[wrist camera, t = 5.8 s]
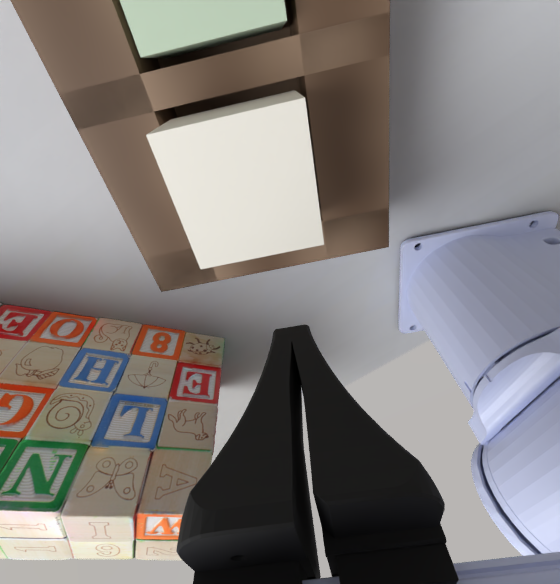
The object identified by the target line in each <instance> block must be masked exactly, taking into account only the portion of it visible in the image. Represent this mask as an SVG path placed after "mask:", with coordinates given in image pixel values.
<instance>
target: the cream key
mask: <svg viewBox="0 0 560 584" xmlns="http://www.w3.org/2000/svg"><path fill="white" fill-rule="evenodd" d="M146 136H147V139H148V141H149V144H150V146H151V149H152V151H153V154H154V156H155V159H156V161H157V164H158V166H159V168H160V171H161V173H162V176H163V178H164V181H165V183H166V186H167V188H168V191H169V193H170V196H171V198H172V200H173V203H174V205H175V208H176V210H177V213H178V215H179V218H180V220H181V223H182V225H183V228H184V230H185V232H186V235H187V237H188V240H189V242H190V245H191V247H192V250H193V252H194V255H195V257H196V260H197V262H198V264H199V267H200V269H206V268H210V267H215V266H220V265H225V264H230V263H235V262H240V261H245V260H250V259H255V258H260V257H265V256H270V255H275V254H280V253H285V252H290V251H295V250H300V249H305V248H310V247H315V246H320V245H324V240H323V232H322V224H321V217H320V209H319V201H318V193H317V186H316V178H315V170H314V163H313V155H312V147H311V139H310V132H309V124H308V116H307V108H306V101H305V97H304V96H302V95H301V94H300V93H298V92H297V91H295V90H292V91H288V92H284V93H280V94H276V95H271V96H267V97H263V98H259V99H254V100H250V101H246V102H242V103H238V104H233V105H229V106H225V107H221V108H216V109H212V110H208V111H204V112H200V113H195V114H191V115H187V116H183V117H179V118H174V119H170V120H169V121H167V122H166V123H164V124H162V125H161V126H159V127H158V128H156V129H155V130H153V131H151V132H150V133H148V134H147V135H146Z"/></svg>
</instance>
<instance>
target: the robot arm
mask: <svg viewBox="0 0 560 584" xmlns="http://www.w3.org/2000/svg"><path fill="white" fill-rule="evenodd" d="M558 219H559V215H558V214H557V213H555V212H553V211H547V212H542V213H537V214H532V215H527V216H522V217H517V218H512V219H507V220H502V221H497V222H492V223H487V224H482V225H477V226H472V227H467V228H462V229H457V230H452V231H447V232H441V233H436V234H431V235H426V236H421V237H416V238H411V239H407V240H405V241H404V242H403V243H402V244H401V248H400V283H399V318H398V328H399V330H400V332H401V333H411V332H416V331H422V330H425V332H426V334H427V335H428V337H429V339H430V340H431V342H432V343H433V345H434V347H435V348H436V350H437V351H438V353H439V355H440V356H441V358H442V359H443V361H444V362H445V364H446V366H447V368H448V369H449V371H450V372H451V374H452V376H453V377H454V379H455V380H456V382H457V384H458V385H459V387H460V388H461V390H462V392H463V393H464V395H465V396H466V398H467V400H468V401H469V403H470V405H471V406H472V408H473V409H474V414H473V416H472V418H471V419H470V421H469V422H468V423H469V425H470V427H471V429H472V430H473V432H474V434H475V436H476V437H477V439H478V441H479V442H480V443H479V445H478V446H477V447H476V448H475V450H474V452H473V455H472V460H471V470H472V476H473V480H474V483H475V486H476V489H477V492H478V494H479V496H480V499H481V501H482V503H483V505H484V507H485V508H486V510H487V511H488V513H489V515H490V517H491V518H492V520H493V521H494V523H495V524H496V525H497V527H498V528H499V530H500V531H501V532H502V533H503V535H504V536H505V537H506V538H507V539H508V540H509V542H510V543H511V544H512V545H513V546H514V547H515V548H516V549H517V550H518V551H519V552H520V553H521V554H522V555H523V556H517V557H508V558H499V559H491V560H482V561H473V562H463V563H456V564H455V563H454V564H453V563H452V560H451V557H450V555H449V552H448V550H447V547H446V545H445V543H446V537H445V535H444V532H443V530H442V527H441V524H440V521H441V518H442V515H443V512H444V501H443V499H442V497H441V495H440V493H439V491H438V489H437V487H436V485H435V484H434V482H433V480H432V479H431V477H430V476H429V474H428V473H427V471H426V470H425V469H424V467H423V466H422V464H421V463H420V461H419V460H418V459H416V458H415V457H414V456H413V455H411V454H410V453H409V452H408V451H407V450H405V449H404V448H403V447H402V446H401V445H399V444H398V443H397V442H396V441H395V440H394V439H393V438H392V437H391V436H390V435H388V434H387V433H386V432H385V431H384V430H383V429H382V428H381V427H380V426H379V425H378V424H377V423H376V422H375V421H374V420H373V419H372V418H371V417H370V416H369V415H368V414H367V413H366V412H365V411H364V410H363V409H362V408H361V407H360V405H359V404H358V403H357V402H356V401H355V400H354V399H353V397H352V396H351V395H350V394H349V393H348V392H347V390H346V389H345V388H344V386H343V385H342V384H341V383H340V381H339V380H338V378H337V377H336V376H335V374H334V373H333V371H332V370H331V369H330V367H329V366H328V364H327V362H326V361H325V359H324V358H323V356H322V354H321V353H320V351H319V349H318V347H317V345H316V343H315V341H314V339H313V337H312V335H311V332H310V329H309V326H307V325H300V326H294V327H287V328H281V329H276V330H275V331H274V332H273V338H272V343H271V347H270V351H269V354H268V358H267V360H266V363H265V366H264V369H263V372H262V375H261V377H260V380H259V382H258V385H257V387H256V389H255V392H254V394H253V396H252V398H251V400H250V402H249V405H248V406H247V408H246V410H245V412H244V414H243V416H242V418H241V419H240V421H239V423H238V425H237V426H236V428H235V430H234V432H233V433H232V435H231V436H230V438H229V440H228V441H227V443H226V444H225V445H224V447H223V448H222V450H221V451H220V453H219V454H218V456H217V457H216V459H215V460H214V462H213V463H212V464H211V466H210V467H209V468H208V470H207V471H206V472H205V473H204V475H203V476H202V477H201V478H200V480H199V481H198V482H197V484H196V485H195V486H194V487H193V489H192V490H191V491H190V493H189V496H188V499H187V502H186V505H185V509H184V513H183V516H182V520H181V525H180V531H179V537H178V543H177V550H176V552H177V553H178V555H179V556H180V558H181V559H182V560H183V561H184V562H185V563H186V564H188V566H190V567H191V568H192V569H193V570H194V571H195V573H194V581H193V584H560V230H558V229H556V225H557V222H558ZM532 221H533V223H532V224H531V225H530V223H531V222H532ZM418 243H420V245H419V246H418V247H416V248H414V247H415V245H416V244H418ZM413 325H414V326H413ZM411 326H412V327H411ZM301 387H302V391H303V396H304V403H305V412H306V421H307V431H308V440H309V451H310V461H311V473H312V484H313V494H314V498H315V502H316V505H317V509H318V513H319V517H320V521H321V525H322V531H323V540H324V546H325V554H326V557H327V559H328V563H329V566H330V570H331V574H332V577H329V578H320V570H319V563H318V556H317V548H316V542H315V541H316V540H315V533H314V527H313V526H314V525H313V518H312V510H311V503H310V495H309V487H308V479H307V471H306V463H305V455H304V446H303V428H302V427H303V426H302V397H301Z"/></svg>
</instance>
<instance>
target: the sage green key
mask: <svg viewBox="0 0 560 584" xmlns="http://www.w3.org/2000/svg"><path fill="white" fill-rule="evenodd" d="M120 3H121V5H122V8H123V11H124V14H125V16H126V19H127V22H128V24H129V27H130V30H131V33H132V35H133V38H134V41H135V44H136V46H137V49H138V52H139V54H140V57H141V58H160V59H166V58H170V57H174V56H178V55H182V54H186V53H190V52H194V51H198V50H202V49H206V48H210V47H214V46H218V45H222V44H226V43H230V42H234V41H238V40H242V39H246V38H249V37H253V36H257V35H261V34H265V33H269V32H273V31H277V30H281V29H282V27H283V26H284V24H285V23H286V21H287V16H286V9H285V2H284V0H120Z"/></svg>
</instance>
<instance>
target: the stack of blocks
mask: <svg viewBox="0 0 560 584" xmlns="http://www.w3.org/2000/svg"><path fill="white" fill-rule="evenodd" d="M224 344H225V339H224V338H220V337H214V336H207V335H202V334H195V333H189V332H185V331H182V330H176V329H170V328H164V327H157V326H151V325H143V324H139V323H133V322H128V321H121V320H115V319H108V318H94V317H86V316H80V315H74V314H67V313H61V312H50V311H45V310H39V309H33V308H26V307H20V306H13V305H3V304H2V303H0V559H7V558H9V559H21V560H67V559H71V558H75V559H133V558H134V557H135V558H136V559H140V560H182V559H181V558H180V556H179V555H178V553H177V552H176V550H177V543H178V537H179V531H180V525H181V520H182V516H183V513H184V509H185V505H186V502H187V499H188V496H189V493H190V491H191V490H192V489H193V487H194V486H195V485H196V484H197V482H198V481H199V480H200V478H201V477H202V476H203V475H204V473H205V472H206V471H207V470H208V468H209V467H210V466H211V460H212V455H213V451H214V443H215V433H216V422H217V412H218V407H217V406H218V399H219V389H220V379H221V367H222V360H223V353H224Z"/></svg>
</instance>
